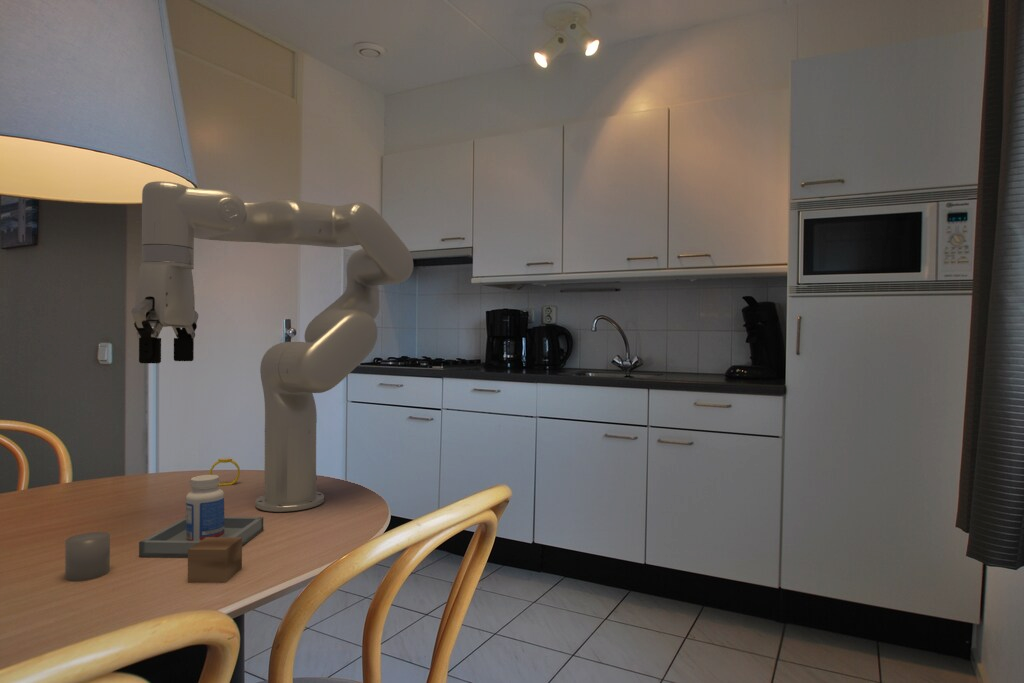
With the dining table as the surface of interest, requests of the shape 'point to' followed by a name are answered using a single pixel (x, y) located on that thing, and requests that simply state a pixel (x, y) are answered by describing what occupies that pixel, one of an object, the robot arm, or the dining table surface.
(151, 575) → the dining table surface
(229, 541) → the walnut block
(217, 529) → the pill bottle
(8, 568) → the dining table surface
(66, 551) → the smooth grey pebble
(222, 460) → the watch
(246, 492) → the dining table surface
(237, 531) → the slate tray
